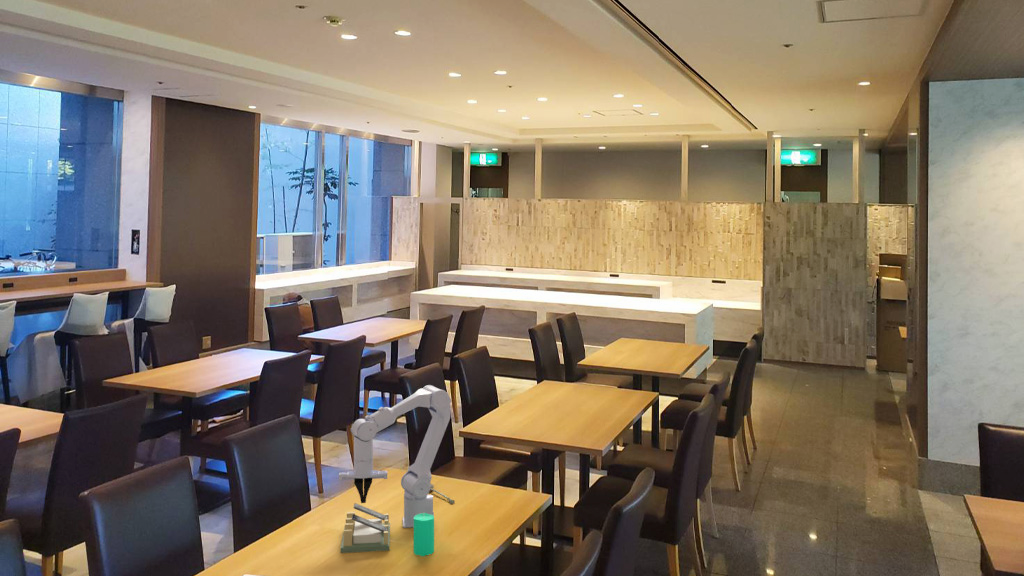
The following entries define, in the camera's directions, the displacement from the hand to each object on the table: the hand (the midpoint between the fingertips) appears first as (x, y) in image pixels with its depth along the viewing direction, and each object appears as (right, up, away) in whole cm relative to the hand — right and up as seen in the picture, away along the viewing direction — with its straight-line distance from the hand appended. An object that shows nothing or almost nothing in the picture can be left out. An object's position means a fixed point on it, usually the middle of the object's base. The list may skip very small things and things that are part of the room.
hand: (363, 501), depth 232 cm
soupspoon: (+18, -8, +36) cm, 41 cm away
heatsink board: (+2, -11, -4) cm, 11 cm away
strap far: (+2, -4, +1) cm, 4 cm away
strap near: (+3, -5, -8) cm, 10 cm away
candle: (+20, -12, -11) cm, 26 cm away
